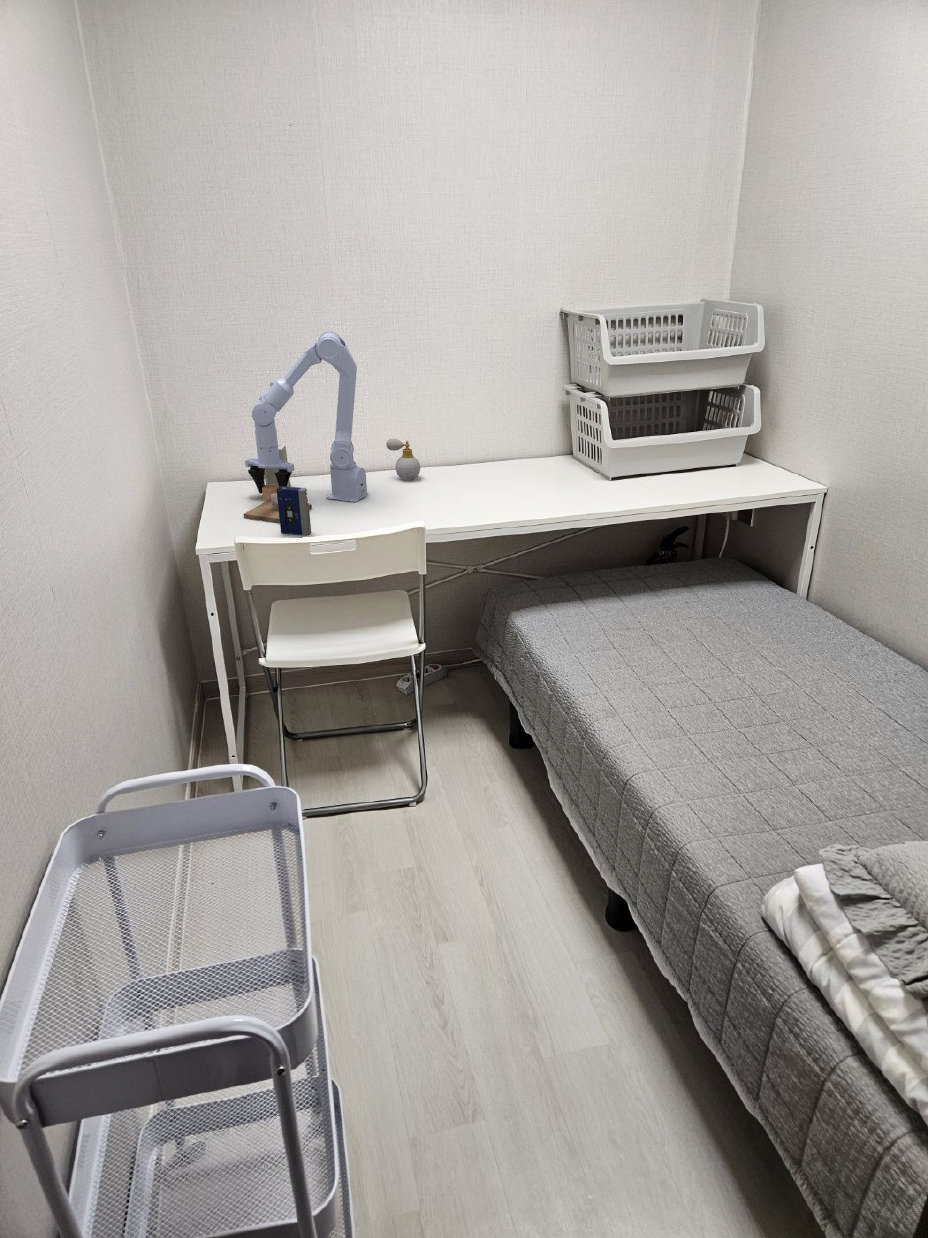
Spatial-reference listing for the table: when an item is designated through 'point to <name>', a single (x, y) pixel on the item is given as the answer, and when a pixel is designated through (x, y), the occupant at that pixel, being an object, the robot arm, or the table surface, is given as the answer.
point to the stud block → (266, 511)
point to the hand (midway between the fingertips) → (272, 493)
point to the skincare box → (270, 473)
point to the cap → (269, 491)
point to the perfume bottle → (404, 460)
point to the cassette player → (293, 510)
